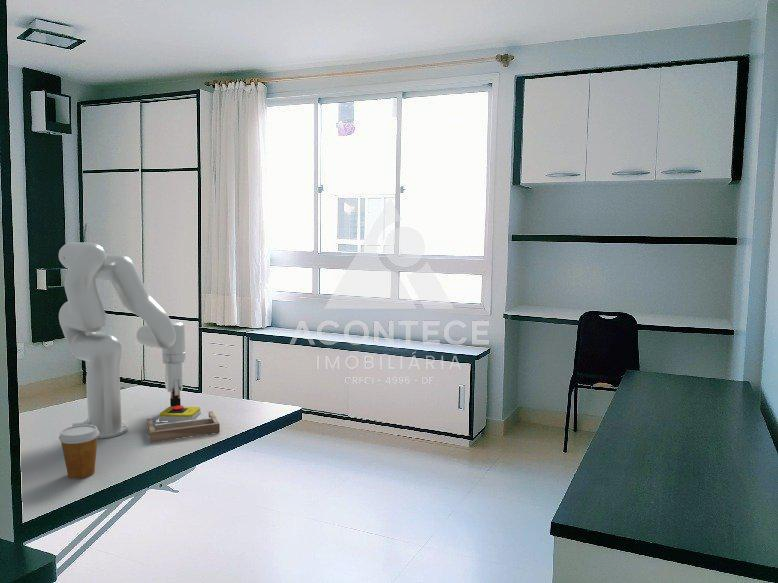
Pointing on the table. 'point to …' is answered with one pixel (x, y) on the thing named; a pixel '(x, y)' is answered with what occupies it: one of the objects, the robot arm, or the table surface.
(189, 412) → the emergency button
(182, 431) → the dock
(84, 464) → the disposable coffee cup
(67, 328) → the robot arm
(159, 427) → the catch plate
